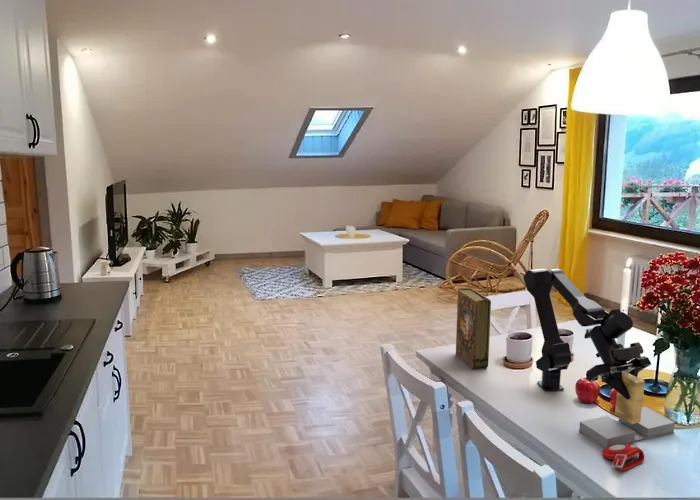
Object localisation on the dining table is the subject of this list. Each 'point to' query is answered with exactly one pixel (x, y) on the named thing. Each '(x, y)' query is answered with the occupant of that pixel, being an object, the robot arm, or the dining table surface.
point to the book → (473, 328)
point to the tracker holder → (623, 455)
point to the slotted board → (626, 428)
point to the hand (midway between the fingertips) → (633, 398)
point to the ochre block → (632, 406)
